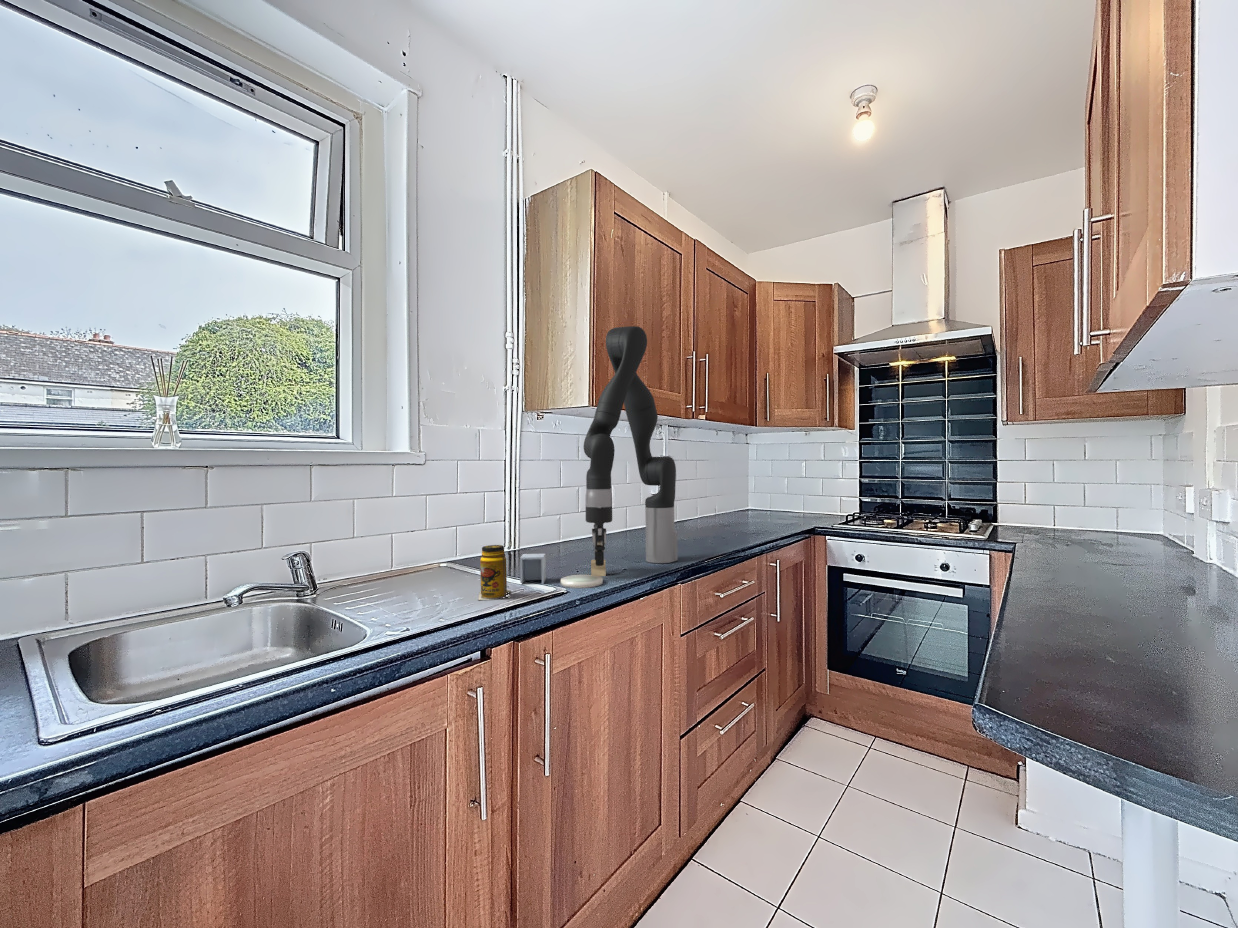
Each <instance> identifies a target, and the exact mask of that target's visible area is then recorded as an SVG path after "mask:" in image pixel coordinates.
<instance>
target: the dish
mask: <svg viewBox="0 0 1238 928" xmlns="http://www.w3.org/2000/svg"><path fill="white" fill-rule="evenodd" d="M603 583H604V578H603V576H596V575H591V574H572V575H567V576H564V577H561V578H560V586H562V587H564V588H571V589H572V588H573V589H586V588H587V589H589V588H595V587H599V586H601V585H603Z"/></svg>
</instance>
